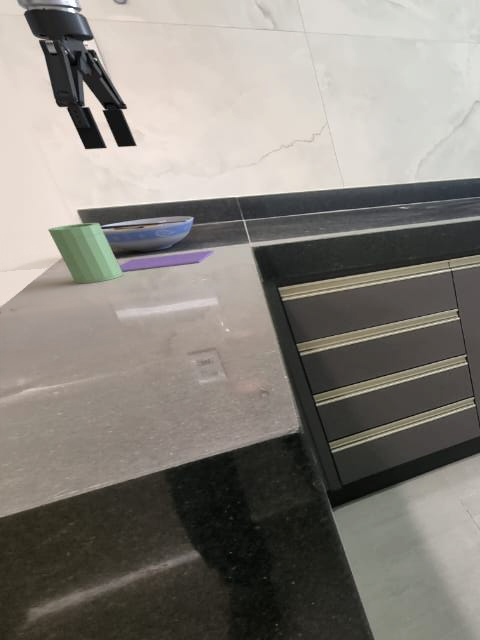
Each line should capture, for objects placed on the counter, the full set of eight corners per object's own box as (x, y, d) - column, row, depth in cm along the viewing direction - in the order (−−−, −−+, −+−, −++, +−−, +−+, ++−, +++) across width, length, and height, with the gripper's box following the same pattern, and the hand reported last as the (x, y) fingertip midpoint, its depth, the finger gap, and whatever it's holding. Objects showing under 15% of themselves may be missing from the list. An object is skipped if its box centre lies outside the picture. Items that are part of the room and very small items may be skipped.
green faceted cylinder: (68, 285, 118) (40, 231, 113) (85, 277, 125) (59, 225, 120) (114, 279, 121) (89, 226, 116) (128, 271, 128) (105, 221, 123)
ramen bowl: (219, 237, 166) (209, 210, 163) (188, 252, 146) (176, 222, 143) (123, 246, 159) (111, 218, 156) (77, 263, 140) (62, 232, 136)
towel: (109, 273, 127) (108, 271, 127) (131, 261, 139) (131, 259, 138) (199, 262, 133) (198, 261, 133) (213, 251, 145) (213, 250, 145)
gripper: (43, -3, 79) (109, 148, 88) (113, 24, 100) (161, 144, 109) (-25, -5, 77) (51, 151, 86) (62, 23, 98) (115, 147, 107)
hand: (112, 147), depth 97 cm, fingers open, 13 cm apart
